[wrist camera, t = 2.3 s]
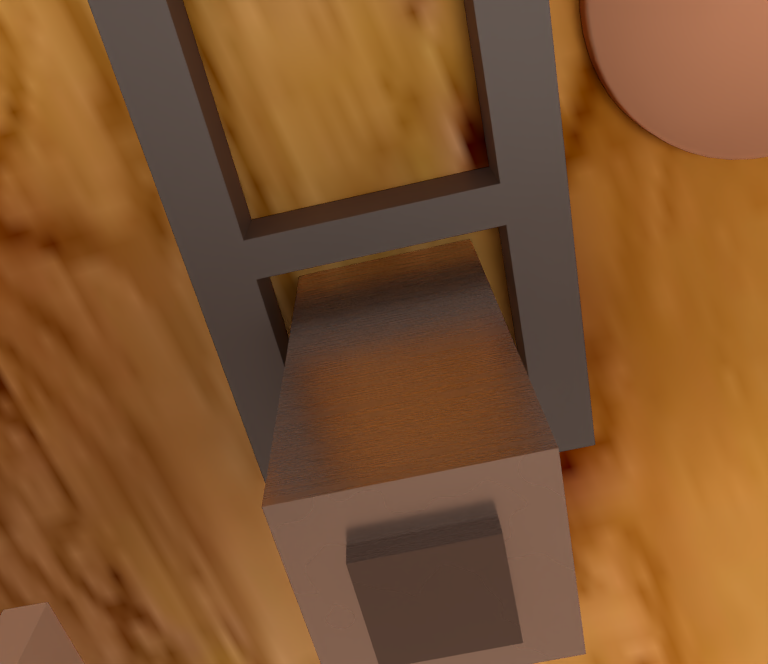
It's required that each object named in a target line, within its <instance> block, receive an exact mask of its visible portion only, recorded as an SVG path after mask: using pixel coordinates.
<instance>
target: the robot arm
mask: <svg viewBox="0 0 768 664" xmlns="http://www.w3.org/2000/svg"><path fill="white" fill-rule="evenodd" d="M0 664H84V662H83V661H82V659H81V657H80V655H79V654H78V652H77V650H76V649H75V647H74V645H73V644H72V642H71V640H70V639H69V637H68V635H67V634H66V632H65V630H64V629H63V627H62V625H61V623H60V622H59V620H58V618H57V617H56V615H55V613H54V612H53V610H52V608H51V607H50V605H49V603H48V602H44V603H39V604H33V605H28V606H22V607H17V608H11V609H6V610H3V611H2V613H1V615H0Z"/></svg>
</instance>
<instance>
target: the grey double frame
mask: <svg viewBox="0 0 768 664" xmlns="http://www.w3.org/2000/svg"><path fill="white" fill-rule="evenodd" d="M88 3H89V5H90V8H91V11H92V14H93V16H94V19H95V22H96V24H97V27H98V30H99V33H100V35H101V38H102V41H103V43H104V46H105V49H106V52H107V54H108V57H109V60H110V62H111V65H112V68H113V71H114V73H115V76H116V79H117V81H118V84H119V87H120V90H121V92H122V95H123V98H124V100H125V103H126V106H127V109H128V111H129V114H130V117H131V120H132V122H133V125H134V128H135V130H136V133H137V136H138V139H139V141H140V144H141V147H142V149H143V152H144V155H145V158H146V160H147V163H148V166H149V168H150V171H151V174H152V177H153V179H154V182H155V185H156V187H157V190H158V193H159V196H160V198H161V201H162V204H163V206H164V209H165V212H166V215H167V217H168V220H169V223H170V226H171V228H172V231H173V234H174V236H175V239H176V242H177V245H178V247H179V250H180V253H181V255H182V258H183V261H184V264H185V266H186V269H187V272H188V274H189V277H190V280H191V283H192V285H193V288H194V291H195V293H196V296H197V299H198V302H199V304H200V307H201V310H202V313H203V315H204V318H205V321H206V323H207V326H208V329H209V332H210V334H211V337H212V340H213V342H214V345H215V348H216V351H217V353H218V356H219V359H220V361H221V364H222V367H223V370H224V372H225V375H226V378H227V380H228V383H229V386H230V389H231V391H232V394H233V397H234V399H235V402H236V405H237V408H238V410H239V413H240V416H241V419H242V421H243V424H244V427H245V429H246V432H247V435H248V438H249V440H250V443H251V446H252V448H253V451H254V454H255V457H256V459H257V462H258V465H259V467H260V470H261V473H262V476H263V478H264V481H265V484H266V478H267V472H268V466H269V460H270V454H271V448H272V441H273V435H274V429H275V423H276V417H277V411H278V405H279V398H280V392H281V386H282V380H283V374H284V368H285V362H286V356H287V349H288V343H289V338H288V335H287V332H286V328H285V325H284V322H283V319H282V316H281V312H280V309H279V306H278V303H277V300H276V297H275V293H274V290H273V287H272V284H271V281H270V276H275V275H280V274H284V273H289V272H293V271H298V270H302V269H307V268H312V267H316V266H321V265H325V264H330V263H334V262H339V261H344V260H348V259H353V258H357V257H362V256H366V255H371V254H376V253H380V252H385V251H389V250H394V249H398V248H403V247H408V246H412V245H417V244H421V243H426V242H431V241H435V240H440V239H444V238H449V237H453V236H458V235H463V234H467V233H472V232H476V231H481V230H485V229H490V228H495V227H499V234H500V240H501V247H502V253H503V260H504V266H505V273H506V279H507V286H508V293H509V299H510V306H511V312H512V319H513V325H514V332H515V338H516V345H517V351H518V353H519V356H520V358H521V360H522V363H523V365H524V368H525V370H526V372H527V375H528V377H529V379H530V382H531V384H532V386H533V389H534V391H535V394H536V396H537V398H538V401H539V403H540V405H541V408H542V410H543V413H544V415H545V417H546V420H547V422H548V424H549V427H550V429H551V431H552V434H553V436H554V439H555V441H556V443H557V446H558V448H559V452H561V451H566V450H571V449H577V448H582V447H587V446H592V445H595V439H594V430H593V420H592V410H591V401H590V391H589V382H588V372H587V362H586V353H585V343H584V334H583V324H582V314H581V305H580V295H579V286H578V276H577V266H576V257H575V247H574V237H573V228H572V218H571V209H570V199H569V189H568V180H567V170H566V161H565V151H564V141H563V132H562V122H561V113H560V103H559V93H558V84H557V74H556V65H555V55H554V45H553V36H552V26H551V17H550V7H549V0H464V4H465V11H466V18H467V24H468V31H469V37H470V44H471V50H472V57H473V63H474V70H475V76H476V83H477V90H478V96H479V103H480V109H481V116H482V122H483V129H484V135H485V142H486V148H487V155H488V162H489V167H486V168H481V169H477V170H472V171H468V172H463V173H459V174H454V175H450V176H445V177H441V178H436V179H432V180H428V181H423V182H419V183H414V184H410V185H405V186H401V187H396V188H392V189H387V190H383V191H378V192H374V193H369V194H365V195H361V196H356V197H352V198H347V199H343V200H338V201H334V202H329V203H325V204H320V205H316V206H311V207H307V208H302V209H298V210H294V211H289V212H285V213H280V214H276V215H271V216H267V217H262V218H258V219H253V220H251V217H250V214H249V210H248V207H247V204H246V201H245V198H244V194H243V191H242V188H241V185H240V182H239V179H238V175H237V172H236V169H235V166H234V163H233V159H232V156H231V153H230V150H229V147H228V143H227V140H226V137H225V134H224V131H223V128H222V124H221V121H220V118H219V115H218V112H217V108H216V105H215V102H214V99H213V96H212V92H211V89H210V86H209V83H208V80H207V76H206V73H205V70H204V67H203V64H202V61H201V57H200V54H199V51H198V48H197V45H196V41H195V38H194V35H193V32H192V29H191V25H190V22H189V19H188V16H187V13H186V10H185V6H184V3H183V0H88Z"/></svg>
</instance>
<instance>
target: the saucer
mask: <svg viewBox="0 0 768 664" xmlns="http://www.w3.org/2000/svg"><path fill="white" fill-rule="evenodd" d="M580 16H581V23H582V29H583V36H584V39H585V43H586V46H587V50H588V53H589V57H590V60H591V62H592V64H593V66H594V69H595V71H596V73H597V75H598V78H599V80H600V81H601V83H602V84H603V86H604V88H605V89H606V91H607V92H608V94H609V96H610V97H611V98H612V99H613V101H614V102H615V103H616V104H617V105H618V106H619V108H620V109H621V110H622V111H623V112H624V113H625V114H626V115H627V116H628V117H630V118H631V119H632V120H633V121H634V122H635V123H637V124H638V125H639V126H640V127H642V128H644V129H645V130H647V131H648V132H650V133H652V134H653V135H655V136H657V137H658V138H660V139H662V140H663V141H665V142H667V143H668V144H671V145H673V146H675V147H678V148H680V149H682V150H685V151H687V152H690V153H694V154H698V155H702V156H706V157H711V158H720V159H729V160H732V159H755V158H761V157H768V0H580Z"/></svg>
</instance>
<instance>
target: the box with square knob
mask: <svg viewBox="0 0 768 664" xmlns="http://www.w3.org/2000/svg"><path fill="white" fill-rule="evenodd" d="M262 509H263V512H264V514H265V517H266V519H267V522H268V525H269V527H270V530H271V533H272V535H273V538H274V541H275V543H276V546H277V549H278V551H279V554H280V557H281V559H282V562H283V565H284V567H285V570H286V572H287V575H288V578H289V580H290V583H291V586H292V588H293V591H294V594H295V596H296V599H297V602H298V604H299V607H300V610H301V612H302V615H303V618H304V620H305V623H306V625H307V628H308V631H309V633H310V636H311V639H312V641H313V644H314V647H315V649H316V652H317V655H318V657H319V660H320V663H321V664H533V663H538V662H544V661H549V660H555V659H560V658H566V657H572V656H577V655H583V654H586V652H585V644H584V637H583V629H582V622H581V614H580V607H579V599H578V592H577V584H576V576H575V569H574V561H573V554H572V546H571V539H570V531H569V524H568V516H567V508H566V501H565V493H564V486H563V478H562V471H561V463H560V456H559V448H558V446H557V443H556V441H555V439H554V436H553V434H552V431H551V429H550V427H549V424H548V422H547V420H546V417H545V415H544V413H543V410H542V408H541V405H540V403H539V401H538V398H537V396H536V394H535V391H534V389H533V386H532V384H531V382H530V379H529V377H528V375H527V372H526V370H525V368H524V365H523V363H522V360H521V358H520V356H519V353H518V351H517V349H516V346H515V344H514V342H513V339H512V337H511V334H510V332H509V330H508V327H507V325H506V323H505V320H504V318H503V315H502V313H501V311H500V308H499V306H498V304H497V301H496V299H495V297H494V294H493V292H492V289H491V287H490V285H489V282H488V280H487V278H486V275H485V273H484V271H483V268H482V266H481V263H480V261H479V259H478V256H477V254H476V252H475V249H474V247H473V245H472V242H471V240H470V239H468V240H464V241H459V242H454V243H450V244H445V245H441V246H436V247H431V248H427V249H422V250H418V251H413V252H409V253H404V254H399V255H395V256H390V257H386V258H381V259H376V260H372V261H367V262H363V263H358V264H353V265H349V266H344V267H340V268H335V269H331V270H326V271H321V272H317V273H312V274H308V275H303V276H299V282H298V288H297V294H296V300H295V306H294V313H293V319H292V325H291V331H290V337H289V343H288V349H287V356H286V362H285V368H284V374H283V380H282V386H281V392H280V398H279V405H278V411H277V417H276V423H275V429H274V435H273V441H272V448H271V454H270V460H269V466H268V472H267V478H266V484H265V490H264V497H263V503H262Z"/></svg>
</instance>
